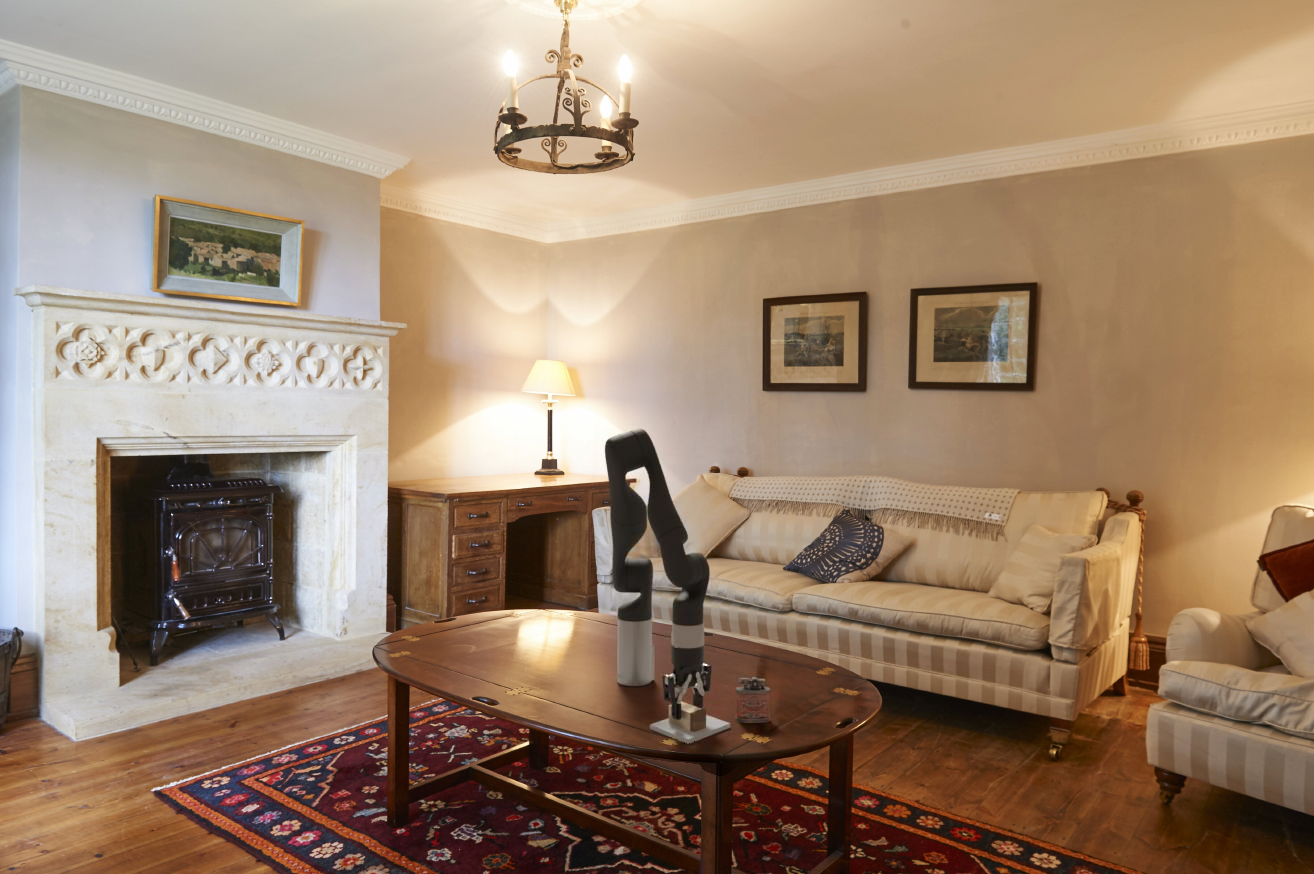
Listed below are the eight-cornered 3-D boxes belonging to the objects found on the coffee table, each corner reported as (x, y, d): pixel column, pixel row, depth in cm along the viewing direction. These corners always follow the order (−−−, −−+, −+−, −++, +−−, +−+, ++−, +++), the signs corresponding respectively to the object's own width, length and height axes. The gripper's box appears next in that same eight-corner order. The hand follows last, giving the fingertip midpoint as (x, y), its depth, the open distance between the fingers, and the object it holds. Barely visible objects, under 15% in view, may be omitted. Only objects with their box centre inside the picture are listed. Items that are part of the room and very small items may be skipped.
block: (668, 722, 188) (668, 705, 188) (680, 718, 191) (680, 701, 191) (694, 732, 183) (694, 714, 183) (706, 727, 185) (706, 709, 185)
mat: (692, 713, 197) (692, 709, 197) (730, 727, 188) (730, 723, 188) (649, 728, 187) (649, 724, 187) (688, 743, 178) (688, 739, 178)
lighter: (768, 717, 195) (768, 675, 195) (770, 722, 192) (771, 679, 191) (734, 717, 195) (735, 675, 194) (736, 722, 191) (736, 680, 191)
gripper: (697, 633, 194) (696, 703, 195) (653, 644, 184) (653, 718, 185) (721, 639, 189) (720, 711, 189) (677, 651, 179) (676, 727, 179)
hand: (687, 714), depth 187 cm, fingers open, 6 cm apart
